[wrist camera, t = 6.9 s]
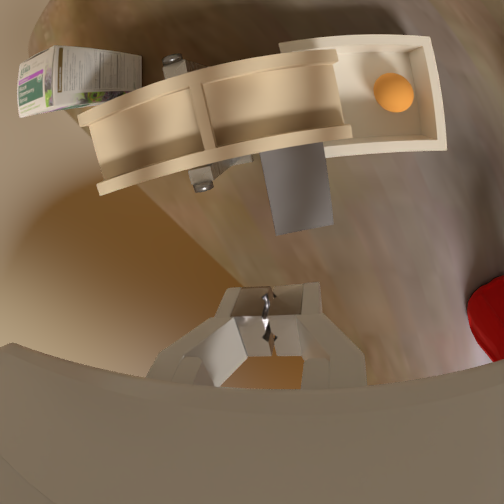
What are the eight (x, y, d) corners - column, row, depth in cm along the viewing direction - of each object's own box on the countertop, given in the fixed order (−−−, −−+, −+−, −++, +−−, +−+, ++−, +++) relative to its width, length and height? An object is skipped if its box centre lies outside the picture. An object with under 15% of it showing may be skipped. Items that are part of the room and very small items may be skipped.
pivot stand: (188, 74, 27) (140, 67, 18) (231, 61, 25) (196, 45, 17) (211, 170, 32) (174, 197, 23) (253, 162, 30) (230, 186, 22)
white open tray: (283, 53, 24) (278, 43, 20) (412, 45, 20) (429, 36, 16) (304, 152, 29) (302, 160, 24) (428, 142, 25) (446, 150, 21)
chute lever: (152, 238, 30) (129, 273, 24) (114, 113, 24) (77, 115, 17) (335, 200, 29) (361, 226, 22) (312, 64, 23) (335, 48, 16)
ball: (370, 71, 20) (412, 70, 18) (369, 75, 23) (407, 74, 21) (377, 114, 22) (419, 113, 20) (376, 112, 25) (413, 111, 23)
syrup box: (106, 105, 30) (17, 122, 17) (106, 62, 27) (16, 63, 14) (143, 98, 29) (52, 109, 16) (143, 53, 26) (53, 43, 13)
